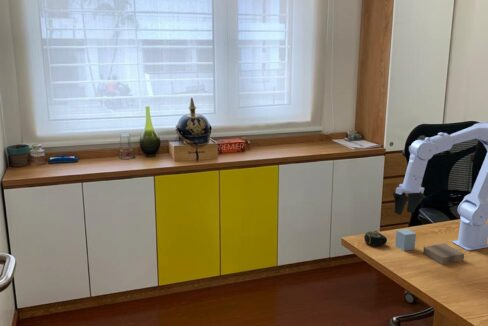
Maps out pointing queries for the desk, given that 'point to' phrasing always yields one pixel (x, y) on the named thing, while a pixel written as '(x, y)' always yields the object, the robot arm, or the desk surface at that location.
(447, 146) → the robot arm
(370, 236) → the tape measure
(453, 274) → the desk surface
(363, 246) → the desk surface
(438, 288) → the desk surface
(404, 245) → the grey block
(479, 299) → the desk surface
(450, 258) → the walnut base
